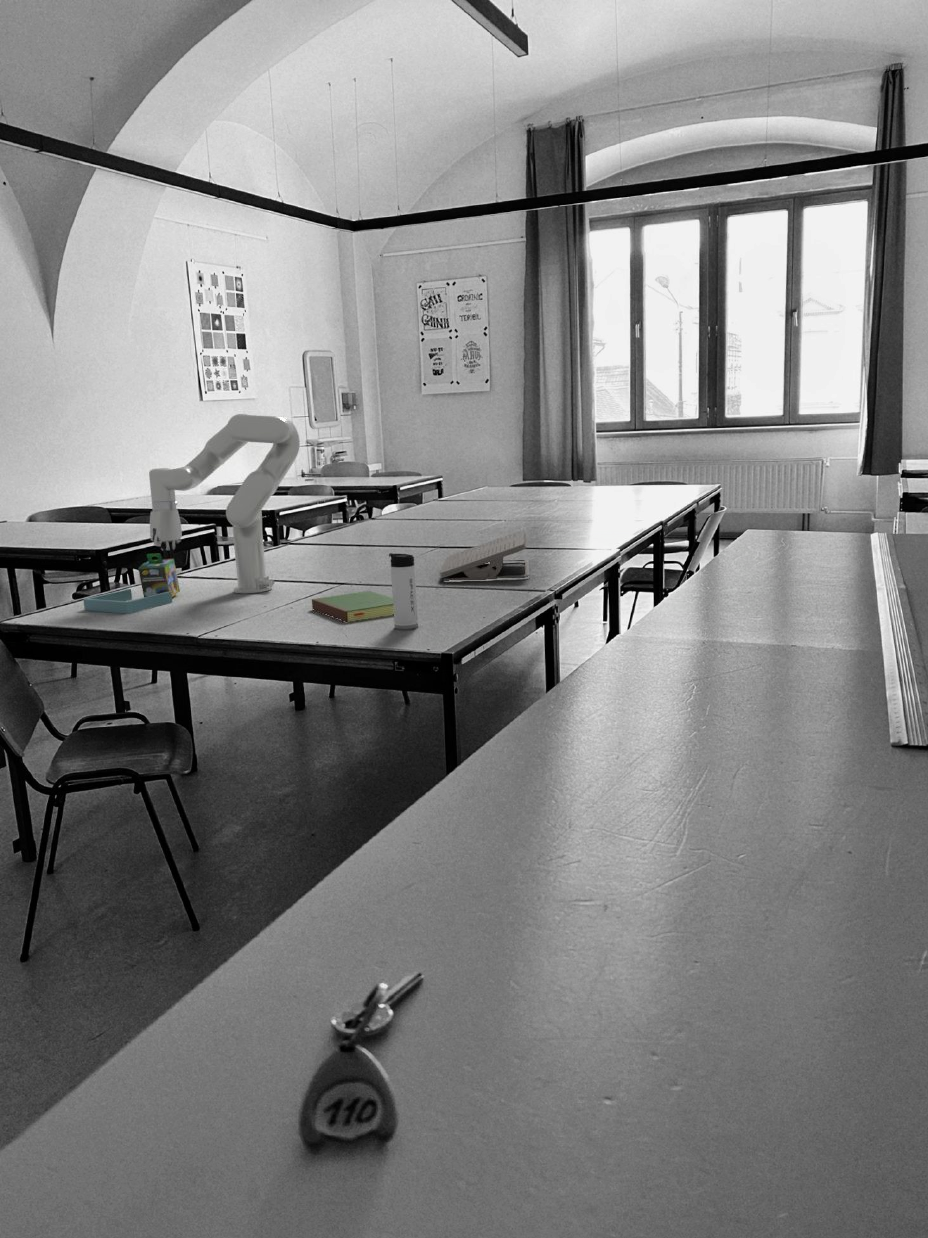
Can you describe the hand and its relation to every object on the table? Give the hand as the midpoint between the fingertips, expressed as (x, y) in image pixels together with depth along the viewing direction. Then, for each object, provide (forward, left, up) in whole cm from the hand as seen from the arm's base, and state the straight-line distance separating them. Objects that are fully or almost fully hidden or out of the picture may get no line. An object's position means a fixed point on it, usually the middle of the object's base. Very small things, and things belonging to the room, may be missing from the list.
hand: (169, 561), depth 328 cm
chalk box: (0, +5, -11) cm, 12 cm away
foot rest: (-84, -66, -12) cm, 107 cm away
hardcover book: (-79, +5, -12) cm, 80 cm away
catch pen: (-1, +19, -11) cm, 22 cm away
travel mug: (-105, +19, -12) cm, 107 cm away
